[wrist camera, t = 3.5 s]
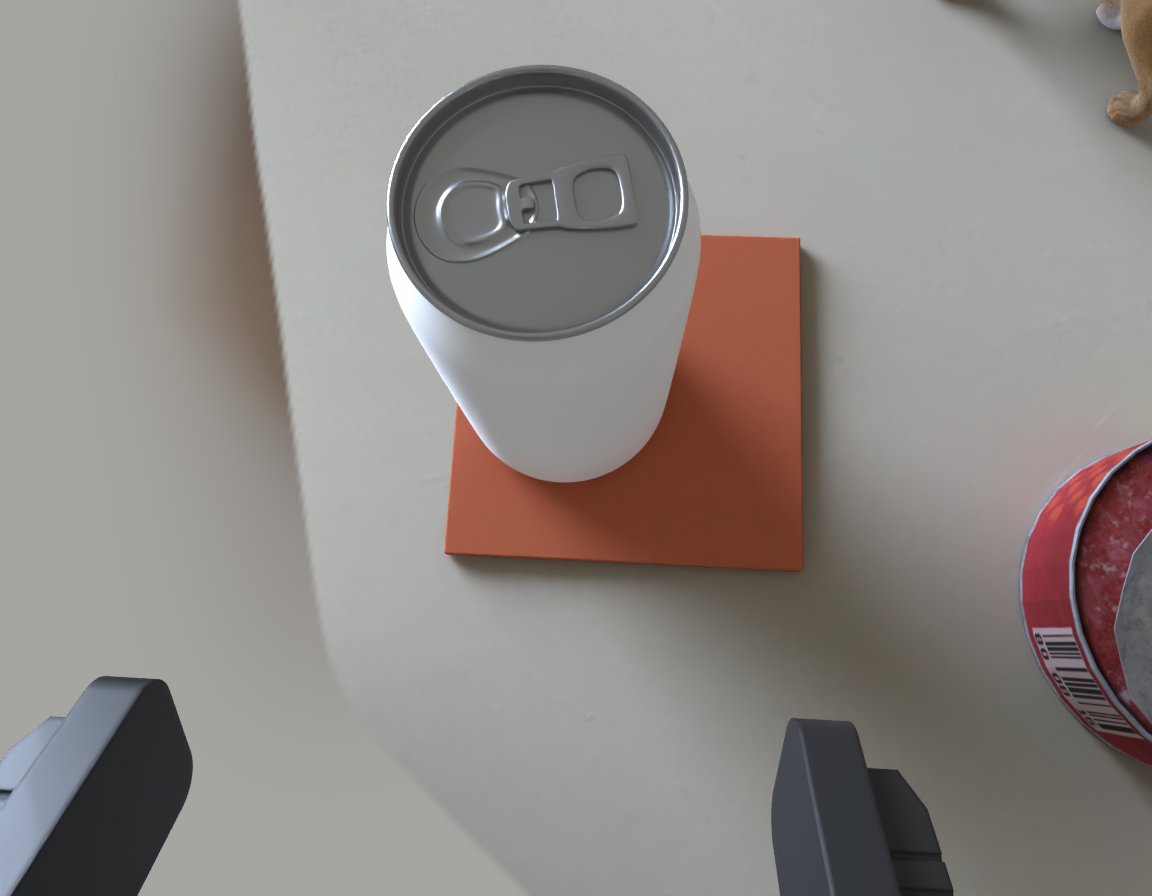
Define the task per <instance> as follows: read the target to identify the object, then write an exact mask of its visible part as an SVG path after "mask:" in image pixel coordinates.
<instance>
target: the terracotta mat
mask: <svg viewBox="0 0 1152 896" xmlns="http://www.w3.org/2000/svg"><path fill="white" fill-rule="evenodd" d="M444 552H445V553H446V554H448V555H468V556H489V557H510V558H530V559H551V560H572V561H593V562H614V563H635V564H656V565H677V566H698V567H719V568H739V569H760V570H781V571H801V570H803V516H802V401H801V286H800V238H778V237H745V236H712V235H701V249H700V261H699V267H698V273H697V279H696V283H695V288H694V292H693V297H692V301H691V306H690V310H689V314H688V318H687V322H686V327H685V331H684V335H683V339H682V343H681V347H680V351H679V355H678V359H677V363H676V367H675V371H674V375H673V379H672V383H671V386H670V390H669V394H668V398H667V401H666V405H665V408H664V411H663V414H662V417H661V419H660V422H659V424H658V426H657V428H656V430H655V431H654V433H653V435H652V436H651V438H650V439H649V440H648V442H647V443H646V444H645V446H644V447H643V448H642V449H641V450H640V451H639V452H638V453H637V454H636V455H635V456H634V457H633V458H632V459H630V460H629V461H628V462H626V463H625V464H624V465H622V466H620V467H619V468H617V469H615V470H614V471H612V472H610V473H607V474H605V475H602V476H600V477H597V478H593V479H590V480H585V481H579V482H551V481H545V480H540V479H536V478H533V477H530V476H527V475H525V474H523V473H520V472H518V471H516V470H515V469H513V468H511V467H510V466H508V465H507V464H505V463H504V462H502V461H501V460H500V459H499V458H498V457H496V456H495V455H494V454H493V453H492V452H491V451H490V450H489V449H488V448H487V446H486V445H485V444H484V443H483V441H482V440H481V439H480V437H479V436H478V434H477V433H476V431H475V430H474V428H473V427H472V425H471V424H470V422H469V420H468V419H467V417H466V416H465V414H464V413H463V411H462V409H461V408H460V406H459V405H458V403H457V410H456V422H455V434H454V445H453V457H452V469H451V480H450V492H449V504H448V516H447V527H446V539H445V551H444Z"/></svg>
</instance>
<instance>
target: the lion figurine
mask: <svg viewBox="0 0 1152 896" xmlns="http://www.w3.org/2000/svg"><path fill="white" fill-rule="evenodd" d="M1096 14H1097V17H1098V19H1099V21H1100V22H1101V23H1102V24H1103V25H1104V26H1106V27H1107V28H1109V29H1112V30H1118V29H1121V32H1122V38H1123V42H1124V44H1125V47H1126V51H1127V53H1128V56H1129V58H1130V62H1131V65H1132V67H1133V69H1134V72H1135V74H1136V77H1137V81H1138V87H1139V93H1138V92H1136V91H1133V90H1125V91H1121V92H1117V93H1115V94H1113V95H1112V96H1111V98H1110V100H1109V105H1108V108H1107V113H1108V117H1109V118H1110V120H1111V121H1112V122H1114V123H1115V124H1117V125H1120V126H1123V127H1129V126H1134V125H1136V124H1139V123H1140V122H1142V121H1144V120H1145V119H1146V118H1148V117H1149V116H1150V115H1151V114H1152V0H1104V1H1103V2H1102V3H1101V4H1100V6H1099V7H1098V8H1097V10H1096Z"/></svg>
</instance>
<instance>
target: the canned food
mask: <svg viewBox="0 0 1152 896" xmlns="http://www.w3.org/2000/svg"><path fill="white" fill-rule="evenodd" d="M1020 605H1021V610H1022V615H1023V620H1024V626H1025V631H1026V635H1027V638H1028V640H1029V643H1030V645H1031V648H1032V650H1033V653H1034V655H1035V658H1036V660H1037V663H1038V665H1039V668H1040V669H1041V671H1042V673H1043V674H1044V676H1045V677H1046V679H1047V681H1048V682H1049V684H1050V685H1051V687H1052V689H1053V690H1054V692H1055V693H1056V695H1057V697H1058V698H1059V699H1060V700H1061V701H1062V702H1063V704H1064V705H1065V706H1066V707H1067V708H1068V709H1069V710H1070V711H1071V713H1072V714H1073V715H1074V716H1075V717H1076V718H1077V719H1078V720H1079V721H1080V723H1081V724H1082V725H1083V726H1085V727H1086V728H1087V729H1089V730H1090V731H1091V732H1092V733H1094V734H1095V735H1096V736H1097V737H1099V738H1100V739H1101V740H1102V741H1104V742H1105V743H1106V744H1108V745H1109V746H1110V747H1111V748H1113V749H1115V750H1117V751H1119V752H1121V753H1123V754H1124V755H1126V756H1128V757H1130V758H1132V759H1134V760H1136V761H1137V762H1139V763H1141V764H1143V765H1146V766H1149V767H1152V440H1150V441H1147V442H1145V443H1142V444H1140V445H1137V446H1134V447H1132V448H1129V449H1126V450H1124V451H1121V452H1118V453H1114V454H1111V455H1107V456H1104V457H1102V458H1101V459H1099V460H1097V461H1095V462H1093V463H1091V464H1089V465H1087V466H1086V467H1084V468H1082V469H1080V470H1078V471H1077V472H1076V473H1075V474H1074V475H1072V476H1071V477H1070V478H1069V479H1068V480H1067V481H1065V482H1064V483H1063V484H1062V485H1061V486H1060V487H1058V488H1057V489H1056V490H1055V492H1054V493H1053V494H1052V496H1051V497H1050V498H1049V500H1048V501H1047V502H1046V504H1045V505H1044V506H1043V508H1042V509H1041V510H1040V512H1039V513H1038V516H1037V518H1036V520H1035V522H1034V524H1033V527H1032V529H1031V531H1030V533H1029V536H1028V538H1027V540H1026V545H1025V549H1024V554H1023V559H1022V564H1021V569H1020Z"/></svg>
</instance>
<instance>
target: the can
mask: <svg viewBox="0 0 1152 896" xmlns="http://www.w3.org/2000/svg"><path fill="white" fill-rule="evenodd" d="M387 222H388V229H387V260H388V267H389V273H390V277H391V281H392V284H393V287H394V290H395V293H396V296H397V299H398V301H399V304H400V306H401V308H402V310H403V312H404V314H405V316H406V318H407V320H408V322H409V324H410V325H411V327H412V329H413V331H414V332H415V334H416V336H417V337H418V339H419V341H420V343H421V344H422V346H423V348H424V349H425V351H426V352H427V354H428V356H429V357H430V359H431V361H432V362H433V364H434V366H435V367H436V369H437V371H438V372H439V374H440V375H441V377H442V379H443V380H444V382H445V384H446V385H447V387H448V388H449V390H450V392H451V393H452V395H453V397H454V398H455V400H456V401H457V403H458V405H459V406H460V408H461V409H462V411H463V413H464V414H465V416H466V417H467V419H468V420H469V422H470V424H471V425H472V427H473V428H474V430H475V431H476V433H477V434H478V436H479V437H480V439H481V440H482V441H483V443H484V444H485V445H486V446H487V448H488V449H489V450H490V451H491V452H492V453H493V454H494V455H495V456H496V457H498V458H499V459H500V460H501V461H502V462H504V463H505V464H507V465H508V466H510V467H511V468H513V469H515V470H516V471H518V472H520V473H523V474H525V475H527V476H530V477H533V478H536V479H540V480H545V481H551V482H579V481H585V480H590V479H593V478H597V477H600V476H602V475H605V474H607V473H610V472H612V471H614V470H615V469H617V468H619V467H620V466H622V465H624V464H625V463H626V462H628V461H629V460H630V459H632V458H633V457H634V456H635V455H636V454H637V453H638V452H639V451H640V450H641V449H642V448H643V447H644V446H645V444H646V443H647V442H648V440H649V439H650V438H651V436H652V435H653V433H654V431H655V430H656V428H657V426H658V424H659V422H660V419H661V417H662V414H663V411H664V408H665V405H666V401H667V398H668V394H669V390H670V386H671V383H672V379H673V375H674V371H675V367H676V363H677V359H678V355H679V351H680V347H681V343H682V339H683V335H684V331H685V327H686V322H687V318H688V314H689V310H690V306H691V301H692V297H693V292H694V288H695V283H696V279H697V273H698V267H699V261H700V249H701V232H700V220H699V214H698V209H697V205H696V201H695V198H694V194H693V192H692V189H691V186H690V184H689V182H688V180H687V176H686V171H685V167H684V163H683V160H682V157H681V154H680V152H679V149H678V147H677V145H676V143H675V141H674V139H673V137H672V136H671V134H670V132H669V131H668V129H667V128H666V126H665V125H664V123H663V122H662V121H661V119H660V118H659V117H658V116H657V115H656V114H655V113H654V111H653V110H652V109H651V108H650V107H649V106H648V105H647V104H645V103H644V102H643V101H642V100H641V99H640V98H638V97H637V96H636V95H634V94H633V93H632V92H630V91H629V90H627V89H626V88H624V87H622V86H621V85H619V84H617V83H615V82H613V81H611V80H609V79H607V78H605V77H602V76H600V75H597V74H594V73H591V72H588V71H584V70H580V69H576V68H571V67H565V66H556V65H528V66H519V67H513V68H508V69H503V70H499V71H496V72H492V73H489V74H486V75H484V76H481V77H479V78H476V79H474V80H472V81H470V82H468V83H466V84H464V85H462V86H460V87H459V88H457V89H455V90H454V91H452V92H451V93H449V94H448V95H446V96H445V97H444V98H442V99H441V100H440V101H438V102H437V103H436V104H435V105H434V106H433V107H432V108H430V109H429V110H428V111H427V112H426V113H425V115H424V116H423V117H422V118H421V119H420V120H419V121H418V123H417V124H416V125H415V126H414V128H413V129H412V130H411V132H410V133H409V135H408V136H407V138H406V140H405V141H404V143H403V145H402V147H401V149H400V151H399V153H398V155H397V158H396V160H395V163H394V166H393V169H392V172H391V176H390V180H389V185H388V192H387Z"/></svg>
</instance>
